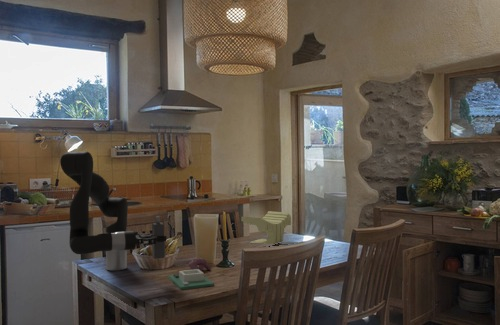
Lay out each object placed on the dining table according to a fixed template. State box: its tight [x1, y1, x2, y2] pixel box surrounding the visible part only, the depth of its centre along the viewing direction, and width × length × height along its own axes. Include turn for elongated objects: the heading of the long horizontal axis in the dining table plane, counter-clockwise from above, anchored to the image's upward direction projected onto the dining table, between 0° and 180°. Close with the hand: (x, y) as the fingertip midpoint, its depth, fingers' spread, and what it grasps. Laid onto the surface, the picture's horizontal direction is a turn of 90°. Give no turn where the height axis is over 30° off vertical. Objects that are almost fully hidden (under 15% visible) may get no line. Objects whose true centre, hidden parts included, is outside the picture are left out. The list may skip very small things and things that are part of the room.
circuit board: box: [167, 269, 215, 291], centre depth 200 cm, size 20×14×4 cm
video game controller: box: [188, 257, 211, 271], centre depth 219 cm, size 10×5×7 cm, turn 142°
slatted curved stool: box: [241, 210, 292, 244], centre depth 282 cm, size 30×16×18 cm, turn 147°
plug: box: [151, 215, 166, 259], centre depth 198 cm, size 4×5×17 cm
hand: (164, 237), depth 199 cm, fingers closed on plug, 4 cm apart
